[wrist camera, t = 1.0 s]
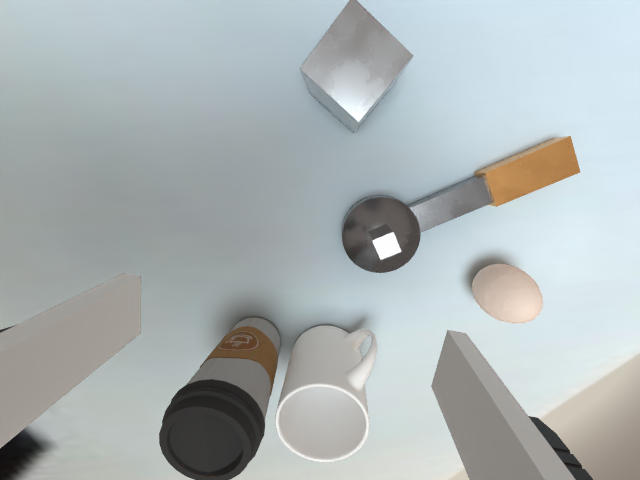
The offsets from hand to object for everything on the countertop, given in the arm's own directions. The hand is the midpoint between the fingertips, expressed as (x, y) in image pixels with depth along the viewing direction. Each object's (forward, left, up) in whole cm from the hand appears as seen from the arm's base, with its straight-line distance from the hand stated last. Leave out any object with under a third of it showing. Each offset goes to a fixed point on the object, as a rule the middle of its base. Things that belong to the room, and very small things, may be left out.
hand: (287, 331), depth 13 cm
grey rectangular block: (-7, +13, -22) cm, 26 cm away
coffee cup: (+3, -16, -22) cm, 27 cm away
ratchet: (+8, +11, -22) cm, 26 cm away
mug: (+11, -10, -22) cm, 27 cm away
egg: (+18, +8, -22) cm, 30 cm away
